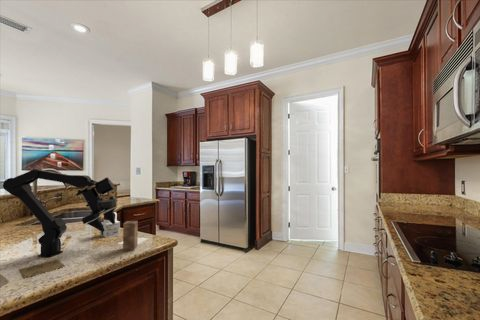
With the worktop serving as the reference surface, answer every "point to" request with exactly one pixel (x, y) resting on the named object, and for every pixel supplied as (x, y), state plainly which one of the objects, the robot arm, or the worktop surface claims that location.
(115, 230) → the container
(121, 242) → the tile
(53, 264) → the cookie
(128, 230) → the walnut block
